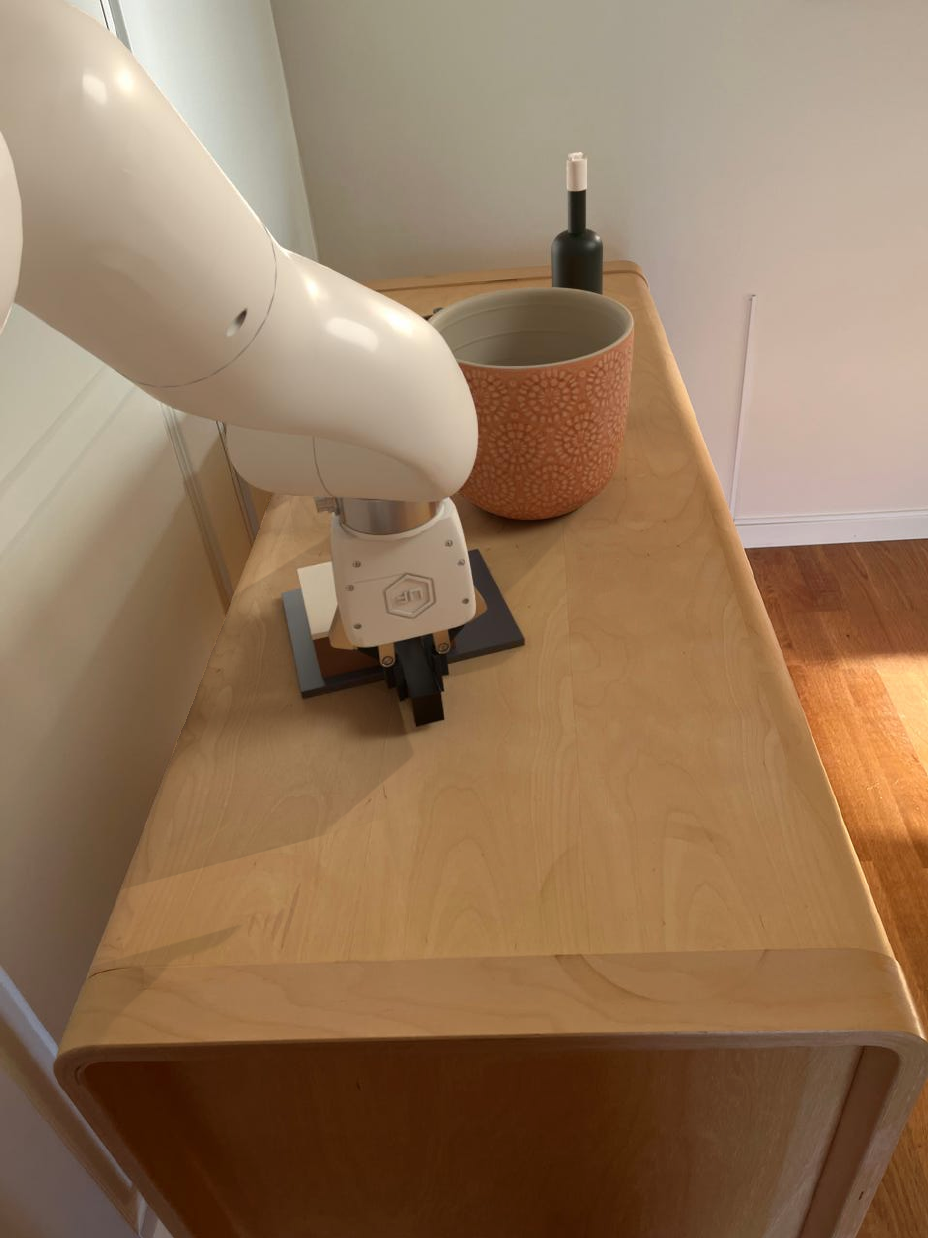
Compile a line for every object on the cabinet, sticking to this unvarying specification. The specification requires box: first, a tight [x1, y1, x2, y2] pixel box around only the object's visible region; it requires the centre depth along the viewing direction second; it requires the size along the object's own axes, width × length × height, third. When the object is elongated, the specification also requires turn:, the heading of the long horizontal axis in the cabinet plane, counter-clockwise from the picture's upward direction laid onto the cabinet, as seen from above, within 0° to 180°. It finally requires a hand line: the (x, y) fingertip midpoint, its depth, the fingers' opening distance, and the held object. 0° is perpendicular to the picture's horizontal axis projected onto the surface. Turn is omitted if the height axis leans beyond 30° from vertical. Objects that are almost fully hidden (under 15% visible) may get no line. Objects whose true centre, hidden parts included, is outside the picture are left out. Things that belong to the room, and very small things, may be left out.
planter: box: [427, 286, 635, 521], centre depth 96 cm, size 21×21×19 cm
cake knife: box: [394, 636, 445, 728], centre depth 79 cm, size 18×2×4 cm, turn 15°
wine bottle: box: [550, 151, 604, 296], centre depth 106 cm, size 6×6×30 cm
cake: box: [280, 548, 526, 700], centre depth 84 cm, size 15×20×6 cm
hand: (418, 684), depth 76 cm, fingers closed on cake knife, 2 cm apart
